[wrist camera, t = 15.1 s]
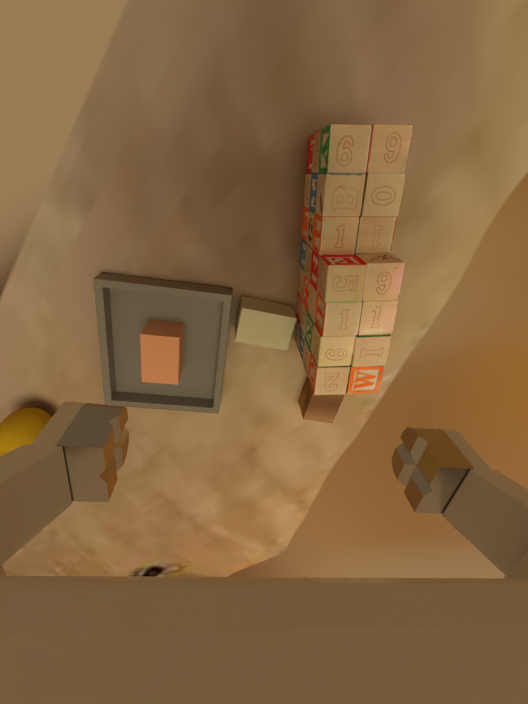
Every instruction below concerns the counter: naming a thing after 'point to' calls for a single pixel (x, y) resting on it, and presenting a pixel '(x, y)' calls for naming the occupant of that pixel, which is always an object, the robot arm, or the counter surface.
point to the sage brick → (264, 323)
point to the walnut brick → (318, 404)
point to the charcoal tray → (168, 305)
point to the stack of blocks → (350, 255)
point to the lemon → (21, 428)
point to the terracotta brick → (162, 351)
